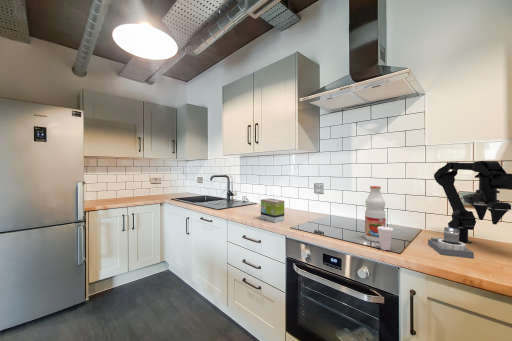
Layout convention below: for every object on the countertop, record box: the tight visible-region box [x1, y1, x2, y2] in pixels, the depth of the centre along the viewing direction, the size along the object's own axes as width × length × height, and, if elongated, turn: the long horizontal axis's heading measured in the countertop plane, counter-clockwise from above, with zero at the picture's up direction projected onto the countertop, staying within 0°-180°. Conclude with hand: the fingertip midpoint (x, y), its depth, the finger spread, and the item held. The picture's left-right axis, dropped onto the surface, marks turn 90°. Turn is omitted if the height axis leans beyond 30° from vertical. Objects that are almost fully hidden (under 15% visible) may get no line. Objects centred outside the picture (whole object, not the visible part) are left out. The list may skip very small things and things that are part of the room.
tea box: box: [260, 198, 285, 224], centre depth 157 cm, size 15×10×15 cm, turn 42°
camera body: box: [427, 236, 475, 259], centre depth 99 cm, size 14×11×4 cm
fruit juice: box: [364, 185, 386, 243], centre depth 114 cm, size 9×9×28 cm
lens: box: [443, 226, 459, 245], centre depth 97 cm, size 5×5×8 cm
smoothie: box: [378, 217, 394, 251], centre depth 100 cm, size 6×6×14 cm
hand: (487, 222), depth 100 cm, fingers open, 9 cm apart
